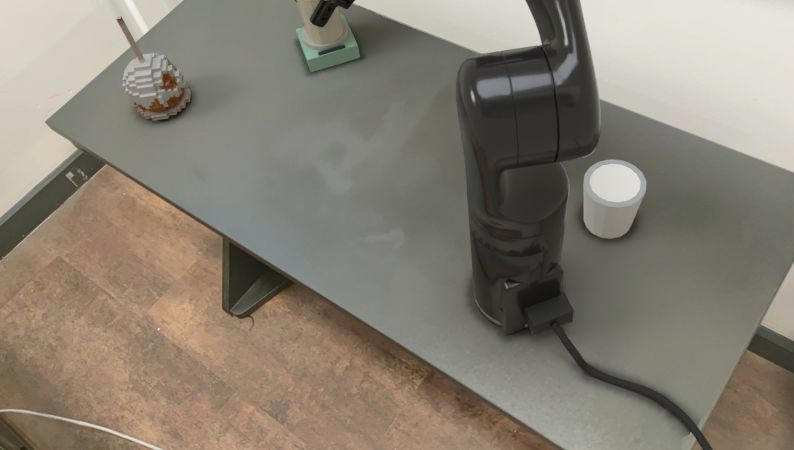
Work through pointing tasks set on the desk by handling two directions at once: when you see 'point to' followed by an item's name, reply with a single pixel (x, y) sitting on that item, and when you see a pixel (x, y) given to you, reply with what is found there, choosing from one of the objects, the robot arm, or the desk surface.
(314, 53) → the scale
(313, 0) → the cup
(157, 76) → the voxel caramel apple
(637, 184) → the white cylinder
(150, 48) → the desk surface
